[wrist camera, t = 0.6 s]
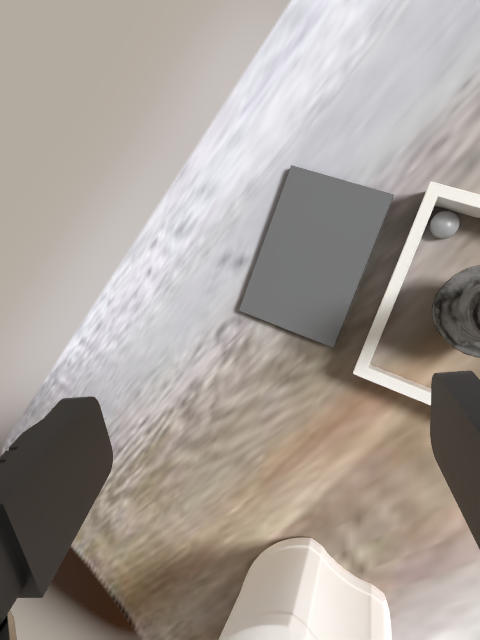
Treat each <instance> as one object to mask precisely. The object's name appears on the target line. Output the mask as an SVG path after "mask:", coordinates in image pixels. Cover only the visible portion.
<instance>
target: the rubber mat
mask: <svg viewBox="0 0 480 640" xmlns="http://www.w3.org/2000/svg"><path fill="white" fill-rule="evenodd" d="M393 196H394V195H393V194H390V193H386V192H383V191H379V190H376V189H372V188H369V187H365V186H362V185H358V184H355V183H351V182H348V181H344V180H341V179H337V178H334V177H330V176H327V175H323V174H320V173H316V172H313V171H309V170H306V169H302V168H299V167H295V166H292V165H291V168H290V171H289V173H288V176H287V179H286V182H285V184H284V187H283V190H282V193H281V195H280V198H279V201H278V204H277V206H276V209H275V212H274V215H273V218H272V220H271V223H270V226H269V229H268V231H267V234H266V237H265V240H264V242H263V245H262V248H261V251H260V253H259V256H258V259H257V262H256V264H255V267H254V270H253V273H252V275H251V278H250V281H249V284H248V287H247V289H246V292H245V295H244V298H243V300H242V303H241V306H240V309H239V311H241V312H244V313H246V314H249V315H251V316H254V317H256V318H259V319H262V320H264V321H267V322H269V323H272V324H274V325H277V326H279V327H282V328H284V329H287V330H289V331H292V332H294V333H297V334H299V335H302V336H305V337H307V338H310V339H312V340H315V341H317V342H320V343H322V344H325V345H327V346H330V347H332V348H333V347H334V345H335V343H336V340H337V338H338V335H339V333H340V330H341V328H342V325H343V323H344V320H345V318H346V315H347V313H348V310H349V307H350V305H351V302H352V300H353V297H354V295H355V292H356V290H357V287H358V285H359V282H360V280H361V277H362V275H363V272H364V270H365V267H366V264H367V262H368V259H369V257H370V254H371V252H372V249H373V247H374V244H375V242H376V239H377V237H378V234H379V232H380V229H381V227H382V224H383V221H384V219H385V216H386V214H387V211H388V209H389V206H390V204H391V201H392V199H393Z"/></svg>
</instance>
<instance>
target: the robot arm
mask: <svg viewBox="0 0 480 640" xmlns="http://www.w3.org/2000/svg"><path fill="white" fill-rule="evenodd" d="M430 437H431V444H432V449H433V453H434V456H435V459H436V461H437V463H438V465H439V467H440V470H441V472H442V474H443V476H444V478H445V480H446V482H447V484H448V486H449V488H450V490H451V492H452V494H453V496H454V498H455V500H456V502H457V504H458V506H459V508H460V510H461V512H462V514H463V516H464V518H465V520H466V522H467V524H468V526H469V528H470V531H471V533H472V535H473V537H474V539H475V541H476V543H477V545H478V547H479V549H480V380H479V378H478V377H477V376H476V375H475V374H474V373H473V372H472V371H458V372H444V373H435V374H434V375H433V377H432V383H431V421H430ZM112 463H113V451H112V446H111V443H110V439H109V436H108V432H107V429H106V425H105V422H104V418H103V415H102V411H101V408H100V405H99V402H98V401H97V399H96V398H95V397H78V398H65V399H62V400H60V401H59V402H58V403H57V405H56V406H55V407H54V408H53V409H52V410H51V411H50V412H49V413H48V415H47V416H46V417H45V418H44V419H43V420H41V421H40V422H38V423H37V424H35V425H34V426H32V427H31V428H29V429H28V430H26V431H25V432H23V433H22V434H21V435H20V436H19V438H18V439H17V440H16V441H15V442H14V443H13V444H12V445H11V446H10V447H9V451H6V452H5V453H4V454H3V455H2V456H1V457H0V640H17V638H16V629H15V621H14V617H13V615H12V613H11V611H10V609H11V607H12V605H13V604H14V602H15V601H16V599H17V598H42V597H43V596H44V594H45V592H46V590H47V588H48V586H49V584H50V583H51V581H52V579H53V577H54V575H55V574H56V572H57V570H58V568H59V566H60V564H61V562H62V561H63V559H64V557H65V555H66V553H67V551H68V549H69V548H70V546H71V544H72V542H73V540H74V539H75V537H76V535H77V533H78V531H79V529H80V527H81V526H82V524H83V522H84V520H85V518H86V516H87V515H88V513H89V511H90V509H91V507H92V505H93V503H94V502H95V500H96V498H97V496H98V494H99V492H100V491H101V489H102V487H103V485H104V483H105V481H106V480H107V478H108V476H109V474H110V471H111V468H112Z"/></svg>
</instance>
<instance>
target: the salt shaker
mask: <svg viewBox="0 0 480 640" xmlns="http://www.w3.org/2000/svg"><path fill="white" fill-rule="evenodd" d="M432 317H433V320H434V324H435V326H436V328H437V329H438V331H439V333H440V334H441V335H442V336H443V338H444V339H445V340H446V341H447V342H448V343H449V344H450V345H451V346H452V347H453V348H455V349H457V350H459V351H461V352H462V353H464V354H467V355H471V356H474V357H478V358H480V265H478V266H474V267H470V268H466V269H465V270H463V271H461V272H459V273H457V274H455V275H454V276H453V277H452V278H451V279H450V280H448V281H447V282H446V283H445V285H444V286H443V287H442V288H441V289H440V290H439V292H438V294H437V295H436V297H435V300H434V303H433V306H432Z"/></svg>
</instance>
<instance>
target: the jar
mask: <svg viewBox="0 0 480 640" xmlns="http://www.w3.org/2000/svg"><path fill="white" fill-rule="evenodd" d="M219 640H391V621H390V613H389V608H388V604H387V601H386V598H385V596H384V594H383V592H381V591H380V590H379V589H378V588H376V587H375V586H374V585H372V584H371V583H368V582H365V581H363V580H361V579H359V578H358V577H356V576H354V575H352V574H351V573H349V572H348V571H346V570H345V569H344V568H343V567H341V566H340V565H339V564H338V563H337V562H336V561H335V560H334V559H333V558H332V557H331V556H330V555H329V554H328V553H327V552H326V551H325V549H324V548H323V547H322V546H321V545H320V544H319V543H317V542H316V541H315V540H314V539H312V538H305V537H301V538H291V539H286V540H283V541H280V542H277V543H275V544H273V545H272V546H270V547H268V548H267V549H266V550H264V551H263V552H262V553H261V554H260V555H259V556H258V557H257V558H256V559H255V561H254V562H253V564H252V565H251V567H250V569H249V571H248V573H247V575H246V577H245V580H244V582H243V585H242V589H241V592H240V594H239V596H238V598H237V600H236V603H235V605H234V607H233V609H232V611H231V613H230V616H229V618H228V620H227V622H226V624H225V627H224V629H223V631H222V633H221V635H220V638H219Z"/></svg>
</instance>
